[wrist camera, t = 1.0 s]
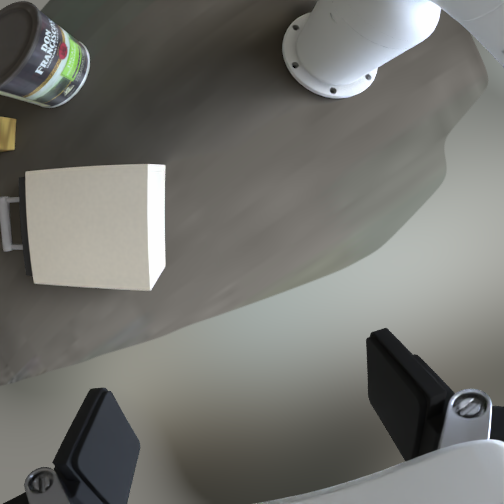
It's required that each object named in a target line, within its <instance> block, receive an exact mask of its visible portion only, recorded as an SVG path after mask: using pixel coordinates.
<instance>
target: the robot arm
mask: <svg viewBox="0 0 504 504" xmlns="http://www.w3.org/2000/svg"><path fill="white" fill-rule="evenodd" d="M441 8H442V9H443V10H444V11H445V12H447V13H448V14H449V15H450V16H451V17H452V18H454V19H455V20H457V21H458V22H459V23H460V24H461V25H462V26H463V27H464V28H466V29H467V30H468V31H469V32H470V33H471V34H472V35H473V36H474V37H475V38H476V39H477V40H478V41H479V42H480V43H481V44H482V45H483V46H484V47H485V48H486V49H487V50H488V51H489V52H490V53H491V54H492V55H493V57H495V59H496V60H497V61H498V62H499V63H500V64H501V65H502V66H503V67H504V0H318V2H317V3H316V5H315V7H314V9H313V10H312V12H310V13H307V14H304V15H302V16H300V17H299V18H297V19H296V20H295V21H294V22H292V23H291V25H290V26H289V28H288V29H287V31H286V33H285V35H284V39H283V43H282V53H283V58H284V61H285V64H286V66H287V68H288V70H289V71H290V73H291V74H292V76H293V77H294V78H295V79H296V80H297V81H298V82H299V83H300V84H301V85H302V86H304V87H305V88H306V89H308V90H310V91H312V92H313V93H315V94H318V95H321V96H324V97H329V98H347V97H352V96H354V95H356V94H359V93H360V92H362V91H364V90H365V89H366V88H367V87H368V86H370V84H371V83H372V82H373V80H374V78H375V76H376V73H377V68H378V67H379V66H381V65H383V64H384V63H386V62H388V61H389V60H391V59H393V58H394V57H396V56H398V55H399V54H401V53H403V52H405V51H406V50H408V49H410V48H412V47H413V46H415V45H417V44H418V43H420V42H422V41H423V40H425V39H426V38H427V37H428V36H429V35H430V34H431V33H432V32H433V31H434V29H435V27H436V25H437V23H438V20H439V16H440V10H441ZM294 29H296V30H294ZM292 66H295V67H296V68H293V67H292ZM365 77H366V78H367V79H366V78H365ZM330 90H331V91H332V92H333V94H332V93H331V92H330ZM366 347H367V369H368V397H369V400H370V403H371V405H372V406H373V408H374V410H375V411H376V413H377V415H378V416H379V417H380V420H381V421H382V423H383V425H384V426H385V428H386V430H387V431H388V432H389V435H390V436H391V438H392V439H393V441H394V443H395V444H396V446H397V448H398V449H399V451H400V453H401V455H402V456H403V458H404V460H405V461H406V462H403V463H400V464H398V465H395V466H393V467H390V468H387V469H385V470H382V471H379V472H376V473H374V474H370V475H367V476H364V477H361V478H358V479H355V480H352V481H349V482H346V483H343V484H339V485H336V486H332V487H329V488H325V489H321V490H317V491H314V492H309V493H306V494H301V495H297V496H292V497H288V498H283V499H277V500H273V501H267V502H261V503H255V504H504V407H500V406H492V402H491V399H490V397H489V396H488V395H487V394H486V393H485V392H483V391H480V390H477V389H465V390H462V391H459V392H457V393H454V392H453V391H452V390H451V389H450V388H449V387H448V386H447V385H446V383H445V382H443V380H442V379H441V378H440V377H439V376H438V375H437V374H436V373H435V372H434V371H433V370H432V369H431V368H430V367H429V366H428V365H427V364H426V363H425V362H424V361H423V360H422V359H421V358H420V357H419V356H418V355H412V353H411V352H410V351H408V349H407V348H406V347H405V346H404V345H403V344H402V343H401V342H400V341H399V340H398V339H397V338H396V337H395V336H394V335H393V334H392V333H391V332H390V331H389V330H388V329H387V328H384V329H381V330H378V331H375V332H372V333H371V335H370V337H369V338H367V339H366ZM139 450H140V443H139V440H138V438H137V436H136V435H135V433H134V431H133V430H132V428H131V426H130V424H129V423H128V421H127V419H126V417H125V416H124V414H123V412H122V410H121V409H120V407H119V405H118V403H117V401H116V399H115V397H114V396H113V394H112V392H111V391H108V390H107V389H106V388H94V389H90V391H89V392H88V394H87V396H86V398H85V400H84V402H83V404H82V405H81V407H80V409H79V411H78V413H77V415H76V417H75V419H74V420H73V422H72V425H71V426H70V428H69V430H68V432H67V434H66V436H65V438H64V440H63V442H62V444H61V446H60V448H59V450H58V452H57V454H56V456H55V459H54V460H53V464H54V465H55V468H54V470H53V469H51V468H48V467H41V468H38V469H36V470H34V471H32V472H31V473H30V474H29V475H28V477H27V478H26V480H25V484H24V486H25V491H26V492H25V493H23V494H21V495H19V496H17V497H16V498H13V499H12V500H10V501H7V502H5V503H3V504H127V502H128V497H129V493H130V488H131V484H132V480H133V475H134V471H135V467H136V463H137V459H138V455H139Z"/></svg>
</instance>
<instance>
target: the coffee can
mask: <svg viewBox="0 0 504 504" xmlns="http://www.w3.org/2000/svg"><path fill="white" fill-rule="evenodd" d="M89 68H90V56H89V53H88V50H87V48H86V47H85V46H84V45H83V44H82V43H81V42H79V41H77V40H76V39H75V38H74V37H72V36H71V35H70V34H69V33H67V32H66V31H65V30H64V29H62V28H61V27H60V26H58V25H57V24H56V23H55V22H53V21H52V20H51V19H50V18H48V17H47V16H46V15H44V14H43V13H42V12H41V11H39V10H38V8H37V7H36V6H35V5H33V4H32V3H30V2H26V1H21V2H16V3H12V4H10V5H8V6H6V7H5V8H3V9H2V10H0V95H3V96H7V97H11V98H15V99H19V100H22V101H26V102H29V103H33V104H36V105H39V106H41V107H45V108H54V107H57V106H60V105H62V104H64V103H66V102H68V101H69V100H70V99H72V98H73V97H74V96H75V95H76V94H77V93H78V91H79V90H80V89H81V87H82V86H83V84H84V82H85V80H86V78H87V76H88V72H89Z"/></svg>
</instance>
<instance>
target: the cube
mask: <svg viewBox="0 0 504 504" xmlns="http://www.w3.org/2000/svg"><path fill="white" fill-rule="evenodd" d="M15 131H16V119H12V118H6V117H0V152H5V151H11V150H14V149H15Z"/></svg>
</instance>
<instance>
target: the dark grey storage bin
mask: <svg viewBox="0 0 504 504" xmlns="http://www.w3.org/2000/svg"><path fill="white" fill-rule="evenodd" d="M12 202H19V205H20V222H21V235H22V244H13V243H12V233H11V221H10V204H9V203H12ZM0 223H1V234H2V244H3V251H5V252H7V251H11V250H13V249H17V250H23V254H24V262H25V269H26V275H29V276H33V274H32V266H31V259H30V250H29V240H28V229H27V214H26V187H25V177H21V178H19V197H11V198H9V196H3V197H0Z"/></svg>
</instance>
